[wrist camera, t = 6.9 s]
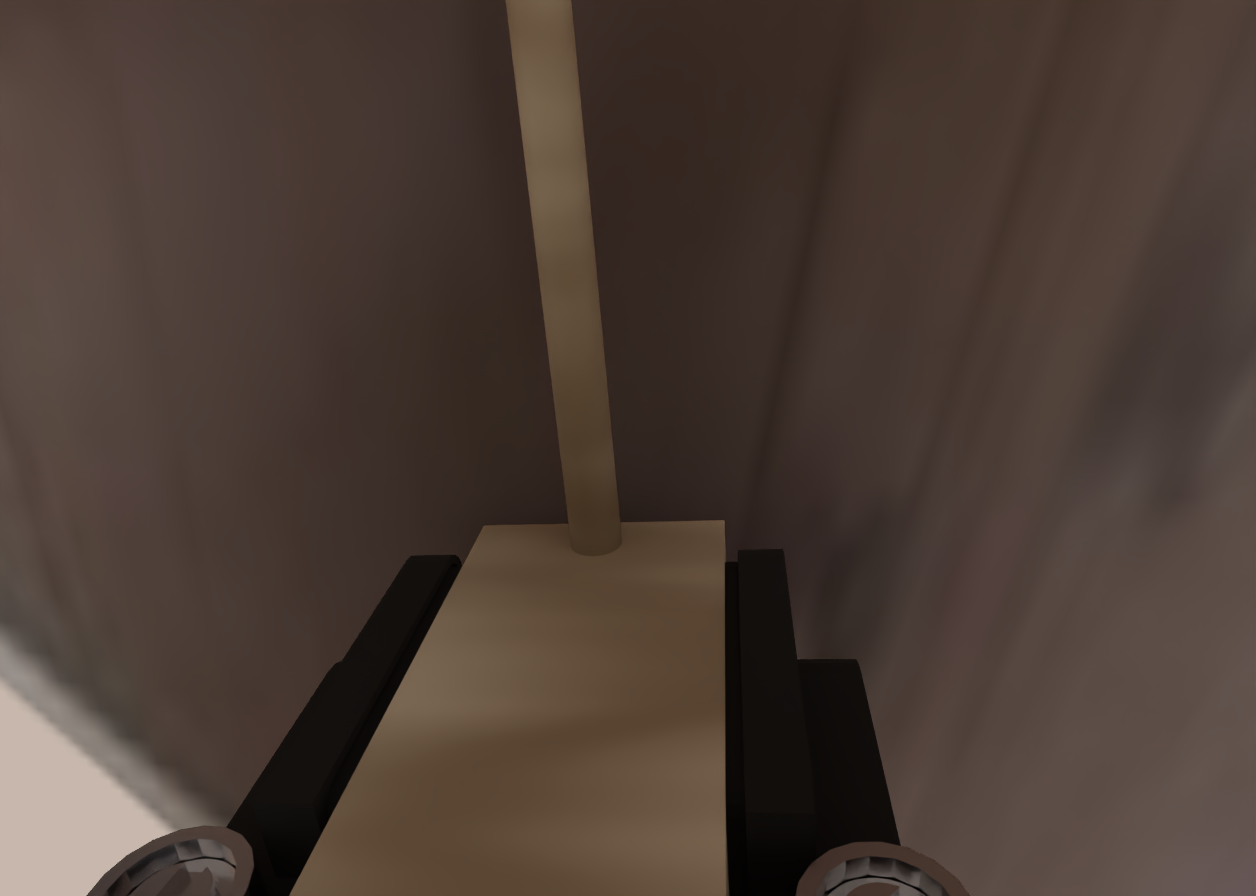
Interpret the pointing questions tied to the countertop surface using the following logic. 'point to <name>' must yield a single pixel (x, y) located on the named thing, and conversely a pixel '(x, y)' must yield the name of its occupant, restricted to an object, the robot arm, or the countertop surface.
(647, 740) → the wooden block tool
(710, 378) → the countertop surface
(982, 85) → the countertop surface
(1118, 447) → the countertop surface
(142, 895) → the robot arm
